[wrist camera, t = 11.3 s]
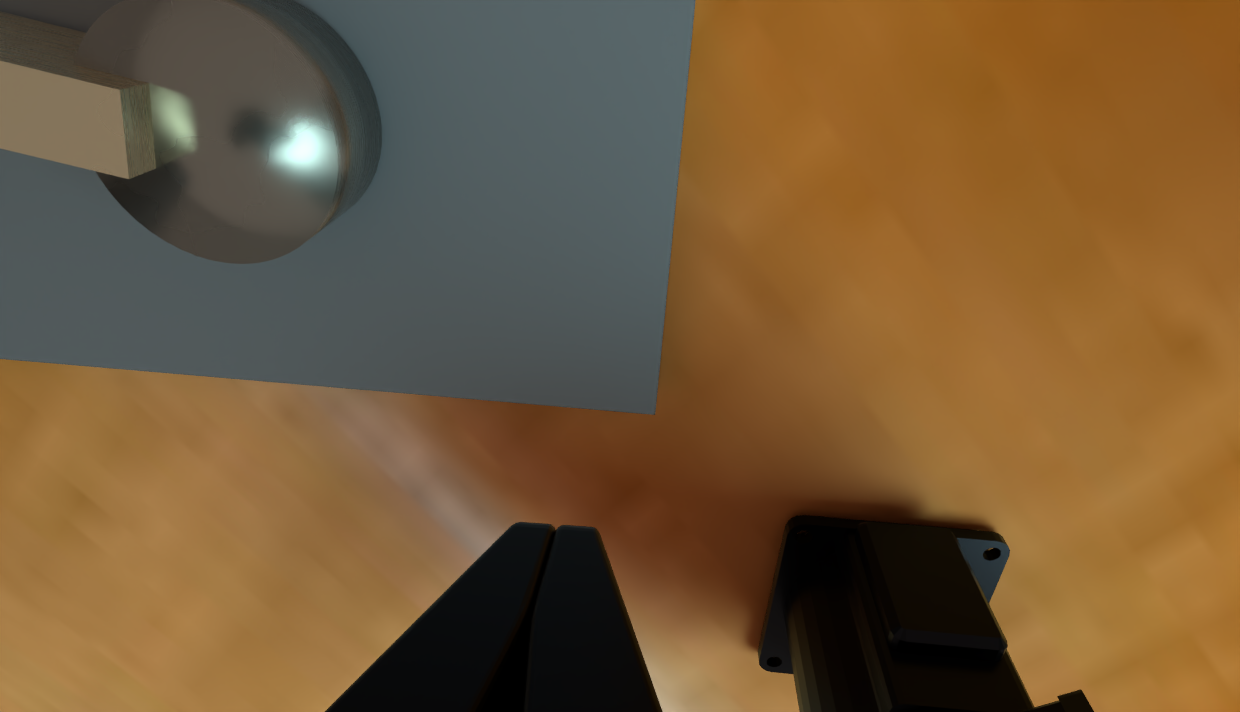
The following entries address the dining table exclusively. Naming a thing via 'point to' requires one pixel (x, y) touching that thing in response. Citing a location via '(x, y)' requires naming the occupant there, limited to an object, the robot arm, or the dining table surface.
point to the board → (405, 222)
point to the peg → (200, 118)
